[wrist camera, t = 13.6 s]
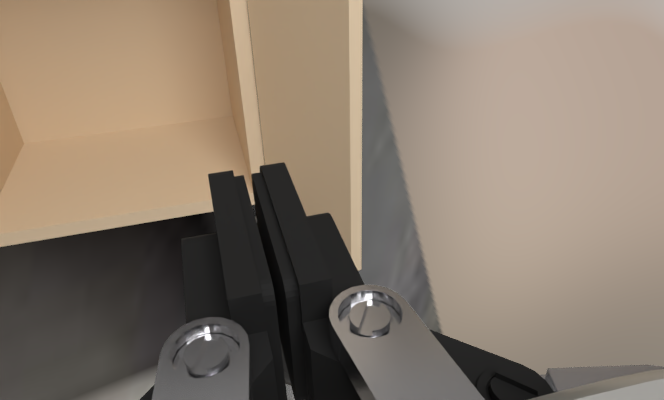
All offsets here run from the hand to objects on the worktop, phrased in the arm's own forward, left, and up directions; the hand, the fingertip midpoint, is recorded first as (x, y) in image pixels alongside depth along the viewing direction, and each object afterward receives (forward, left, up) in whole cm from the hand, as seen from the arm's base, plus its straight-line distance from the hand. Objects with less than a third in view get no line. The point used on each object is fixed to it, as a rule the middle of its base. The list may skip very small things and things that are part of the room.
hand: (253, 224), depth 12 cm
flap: (0, +3, -13) cm, 13 cm away
